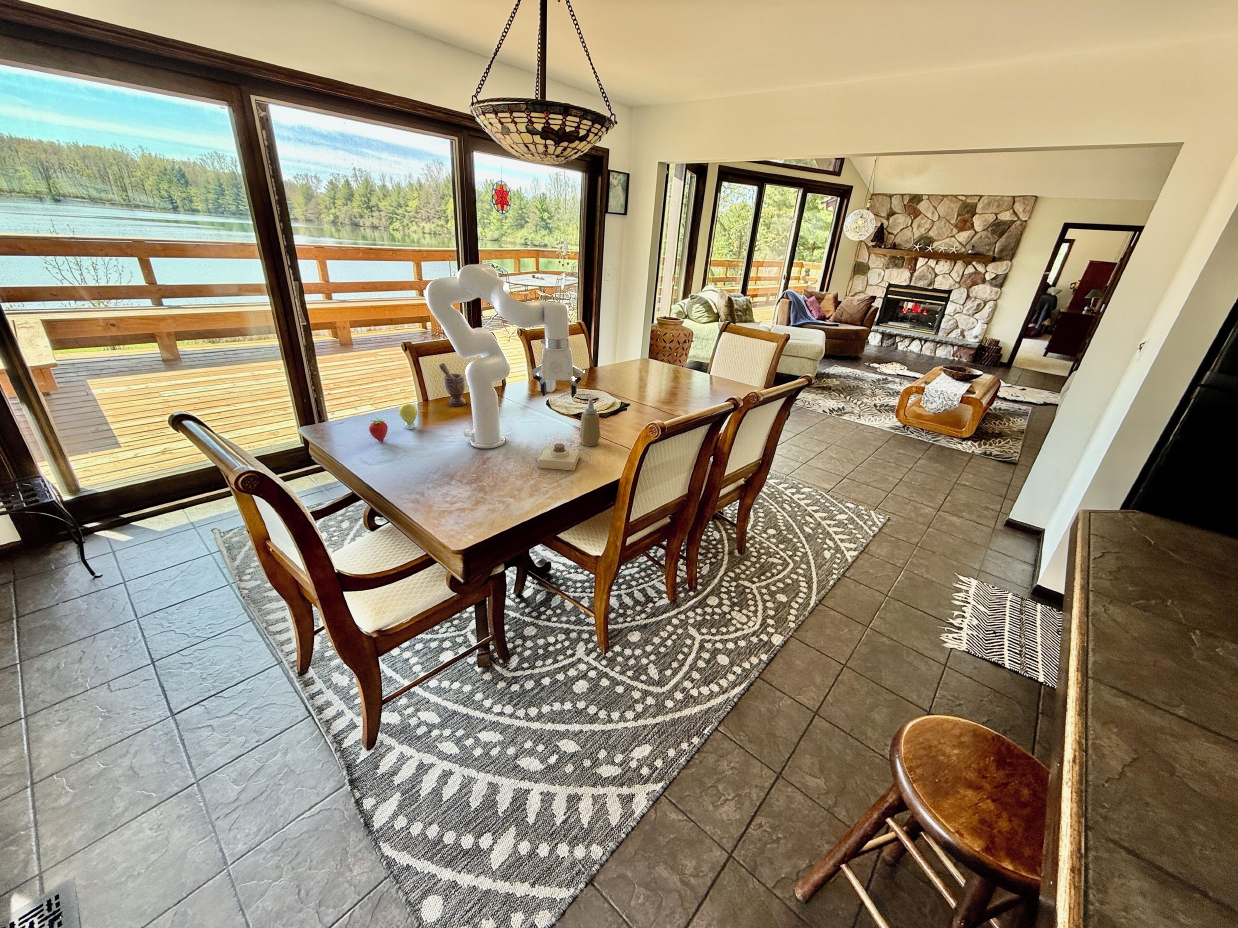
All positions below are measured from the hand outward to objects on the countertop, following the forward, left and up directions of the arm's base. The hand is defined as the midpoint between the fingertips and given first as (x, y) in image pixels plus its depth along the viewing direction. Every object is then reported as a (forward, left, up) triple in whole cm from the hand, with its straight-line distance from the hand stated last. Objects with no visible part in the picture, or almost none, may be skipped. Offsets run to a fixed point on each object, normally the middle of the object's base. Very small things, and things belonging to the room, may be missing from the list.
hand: (558, 395), depth 160 cm
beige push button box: (0, -2, -24) cm, 24 cm away
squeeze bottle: (+8, +17, -24) cm, 30 cm away
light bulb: (-64, +19, -24) cm, 70 cm away
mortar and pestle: (-58, +50, -24) cm, 80 cm away
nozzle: (0, -2, -19) cm, 19 cm away
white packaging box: (-23, +82, -24) cm, 88 cm away
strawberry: (-68, +4, -24) cm, 72 cm away
